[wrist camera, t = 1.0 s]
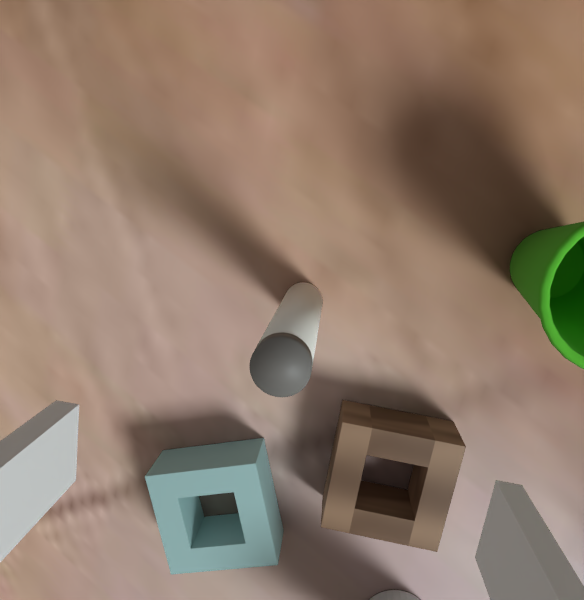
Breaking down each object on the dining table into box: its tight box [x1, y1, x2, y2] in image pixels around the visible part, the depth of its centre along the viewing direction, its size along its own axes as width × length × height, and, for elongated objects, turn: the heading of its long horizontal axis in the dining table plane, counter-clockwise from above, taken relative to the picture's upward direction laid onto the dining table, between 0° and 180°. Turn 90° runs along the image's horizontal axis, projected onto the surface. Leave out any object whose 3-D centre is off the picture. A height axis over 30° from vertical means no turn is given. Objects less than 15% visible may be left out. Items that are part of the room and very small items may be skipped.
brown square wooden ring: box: [321, 400, 466, 552], centre depth 38 cm, size 9×9×4 cm
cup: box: [510, 222, 584, 369], centre depth 30 cm, size 9×9×11 cm
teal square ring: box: [145, 438, 284, 574], centre depth 40 cm, size 9×9×4 cm
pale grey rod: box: [250, 282, 323, 397], centre depth 31 cm, size 3×3×15 cm
